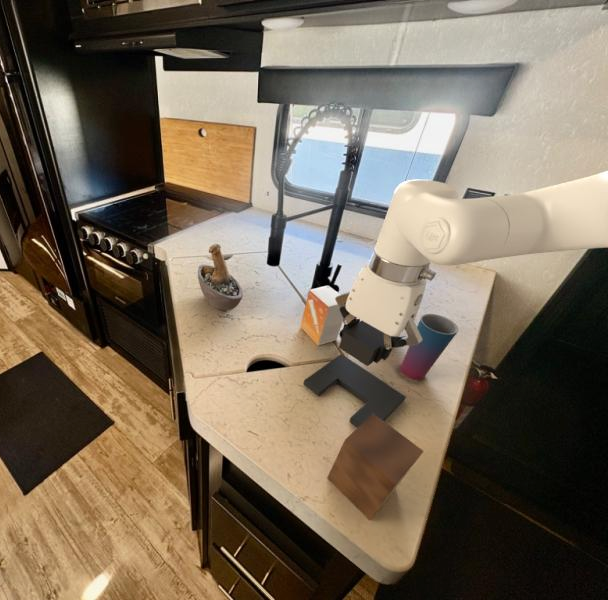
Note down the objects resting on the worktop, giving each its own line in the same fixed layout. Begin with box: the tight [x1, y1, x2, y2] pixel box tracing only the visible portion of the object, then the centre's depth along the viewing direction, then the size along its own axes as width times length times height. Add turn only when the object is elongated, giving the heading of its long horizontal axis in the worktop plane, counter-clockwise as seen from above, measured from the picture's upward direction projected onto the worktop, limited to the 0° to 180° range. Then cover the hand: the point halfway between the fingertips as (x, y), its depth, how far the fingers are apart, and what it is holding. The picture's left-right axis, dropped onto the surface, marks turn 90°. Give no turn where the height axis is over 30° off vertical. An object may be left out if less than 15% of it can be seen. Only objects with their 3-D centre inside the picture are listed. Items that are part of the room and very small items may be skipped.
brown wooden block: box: [326, 413, 424, 521], centre depth 50 cm, size 8×8×12 cm
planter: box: [197, 243, 244, 312], centre depth 91 cm, size 15×17×20 cm
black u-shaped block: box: [303, 353, 407, 429], centre depth 69 cm, size 16×14×2 cm
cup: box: [399, 313, 459, 381], centre depth 70 cm, size 7×7×15 cm
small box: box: [300, 285, 344, 346], centre depth 82 cm, size 8×6×13 cm
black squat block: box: [338, 320, 384, 367], centre depth 58 cm, size 6×6×4 cm
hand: (362, 347), depth 59 cm, fingers closed on black squat block, 6 cm apart
